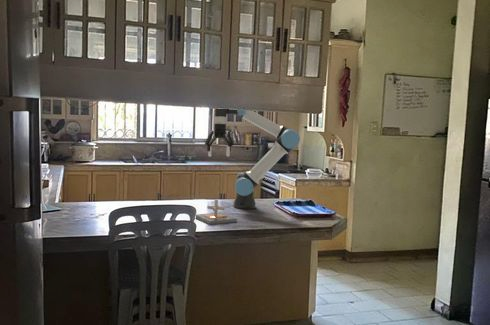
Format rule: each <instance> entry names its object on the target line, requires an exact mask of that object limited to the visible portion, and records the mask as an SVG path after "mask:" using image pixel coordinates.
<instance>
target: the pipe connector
mask: <svg viewBox="0 0 490 325" xmlns="http://www.w3.org/2000/svg"><path fill="white" fill-rule="evenodd" d="M218 202H219V199H218V198H217V199H214V205H207V209H209V210H212V212H213V213H214V217H217V213H218V211H219V210H220V211H225V209H226V208H225V206H220V205H219V204H218Z"/></svg>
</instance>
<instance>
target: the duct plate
mask: <svg viewBox="0 0 490 325" xmlns="http://www.w3.org/2000/svg"><path fill="white" fill-rule="evenodd" d="M195 215H196V218H195V219H196V220H198V221H200V222H202V221H203V222H202V223H205V224H207V225H209V226H212V225H220V224H229V223H230V224H231V223H237V221H238V218H236V217H234V216H231V215H228V214H226V213H224V212H217V217H214V212H208V213H200V214H199V213H197V214H195Z"/></svg>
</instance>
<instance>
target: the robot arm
mask: <svg viewBox="0 0 490 325" xmlns="http://www.w3.org/2000/svg"><path fill="white" fill-rule="evenodd" d="M227 115H230V116H231V115H233V116H237V117H239V118H242V119H243V120H245V121H247V122H249V123H251V124H252V125H254V126H256V127H258V128H259V129H261V130H263V131H265V132H267V133H268V134H271V135H272V136H274V137H275V139H276V140H275V144H274V145H273V146H272V147H271V149H270V150H268V152H266V153H265V155H264V156H263V157H262V158H261V159H260V160H259V161H257V163H256V164H255V165H254V166H253V167H252V168H251V169H250V170H249V171H247V170H246V171H245V172H238V173H237V176H236V178H237V180H236V181H235V184H234V189H235V192H236V195H235V198H234V201H233V205H232V206H233V207H234V208H236V209H244V210H246V209H247V210H248V209H249V210H251V209H255V208H257V205H256V200H255V196H254V195H255V194H254V192H255V189H256V188H257V187H258V185H260V180H261V179H262V178H263V177H264V176H265V175H266V174H267V173H268V172H269V171H270V170H271V169H272V168H273V167H274V165H276V164H277V163H278V162H279V161H280V160H281V159H282V157H284V155H286V154H287V155H288V154H290V153H291V152H292V151H293V150H294V149H295V148H297V147H298V146H299V144H300V142H301V141H300V140H301V136H300V133H299V132H298V131H296V130H295V129H292V128H289V127H286V126H285V125H279V124H277V123H275V122H274V121H272V120H270V119H268V118H266V117H264V116H263V115H261V114H259V113H258V112H256V111H253V110H252V111H244V110H229V109H215V108H214V126H213V128H214V129H213V130H214V131H213V130H210V131H209V134H208V136H207V139H206V141H205V142H204V145H205V146H206V147H207V156H208V157H209V158H210V157H212V144H214V142H215V141H216V140H217V139H223V140H224V142H225V143H226V145H227V146H226V149H225V150H226V154H225V155H226V156H225V157H230V154H231V153H230V152H231V151H232V150H231V149H232V148H231V147H233V146H234V141H233V139H232V136H231V132H230V131H229V130H226V129H227Z"/></svg>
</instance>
